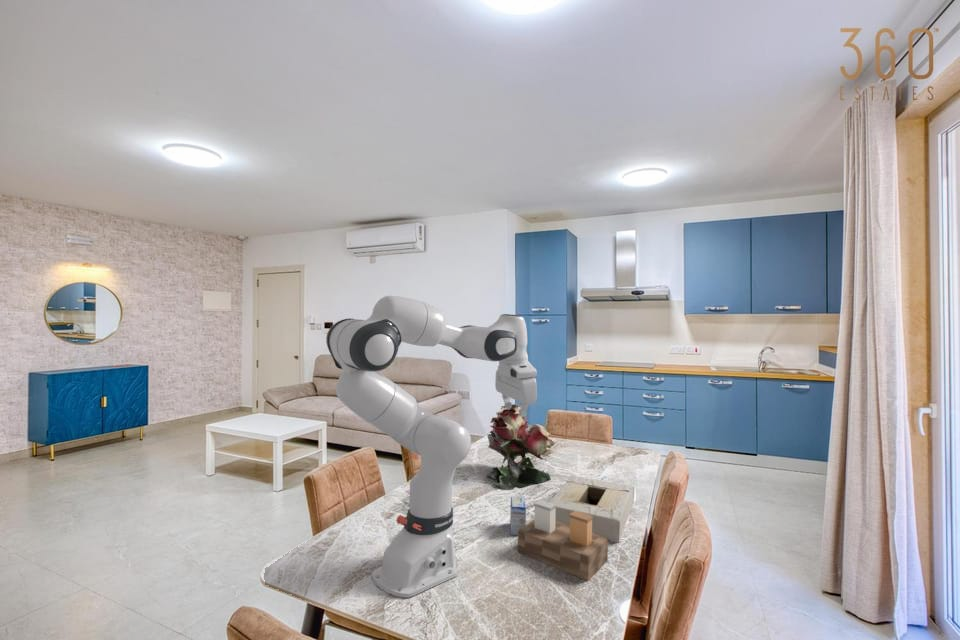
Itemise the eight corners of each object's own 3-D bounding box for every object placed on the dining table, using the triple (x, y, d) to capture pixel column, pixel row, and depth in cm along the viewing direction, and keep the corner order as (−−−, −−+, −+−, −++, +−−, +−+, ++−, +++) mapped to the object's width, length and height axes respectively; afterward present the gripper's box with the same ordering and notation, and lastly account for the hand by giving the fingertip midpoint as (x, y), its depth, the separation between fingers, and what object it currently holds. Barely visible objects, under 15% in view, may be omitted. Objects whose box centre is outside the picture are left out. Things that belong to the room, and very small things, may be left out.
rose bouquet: (561, 478, 180) (562, 405, 180) (505, 493, 163) (506, 413, 163) (521, 461, 201) (522, 396, 201) (468, 473, 184) (469, 402, 185)
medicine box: (510, 523, 138) (510, 496, 138) (524, 523, 138) (524, 496, 138) (511, 535, 130) (511, 506, 130) (526, 536, 130) (526, 507, 130)
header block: (588, 580, 108) (588, 556, 108) (517, 551, 121) (518, 530, 121) (607, 560, 117) (607, 538, 117) (540, 535, 130) (540, 515, 130)
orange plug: (587, 560, 113) (587, 520, 113) (568, 553, 116) (569, 514, 116) (592, 555, 115) (592, 516, 115) (574, 549, 118) (574, 510, 118)
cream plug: (549, 546, 120) (550, 508, 120) (533, 540, 123) (534, 503, 123) (555, 542, 122) (556, 504, 122) (539, 536, 125) (540, 499, 125)
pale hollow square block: (621, 545, 126) (634, 504, 155) (621, 519, 126) (634, 482, 155) (544, 529, 137) (570, 493, 165) (544, 504, 137) (570, 472, 165)
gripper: (489, 363, 139) (491, 405, 141) (520, 374, 121) (522, 422, 122) (507, 361, 142) (508, 402, 143) (540, 371, 123) (541, 419, 124)
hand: (515, 411), depth 132 cm, fingers open, 8 cm apart
